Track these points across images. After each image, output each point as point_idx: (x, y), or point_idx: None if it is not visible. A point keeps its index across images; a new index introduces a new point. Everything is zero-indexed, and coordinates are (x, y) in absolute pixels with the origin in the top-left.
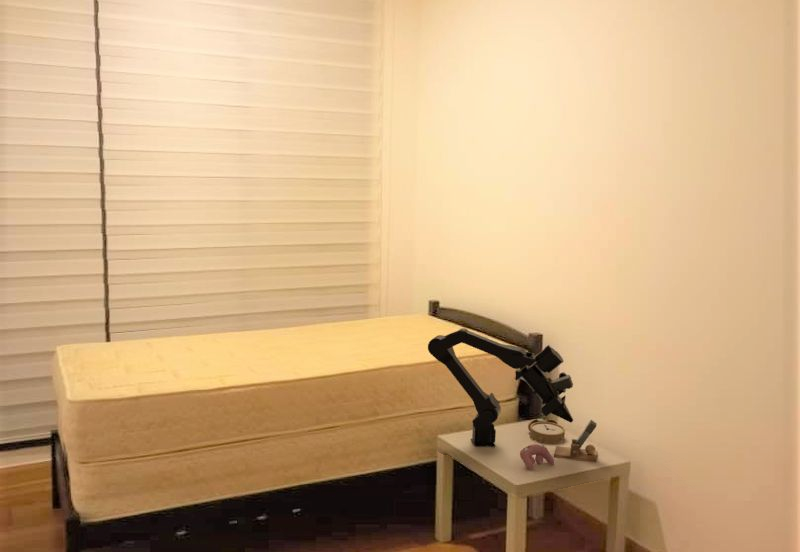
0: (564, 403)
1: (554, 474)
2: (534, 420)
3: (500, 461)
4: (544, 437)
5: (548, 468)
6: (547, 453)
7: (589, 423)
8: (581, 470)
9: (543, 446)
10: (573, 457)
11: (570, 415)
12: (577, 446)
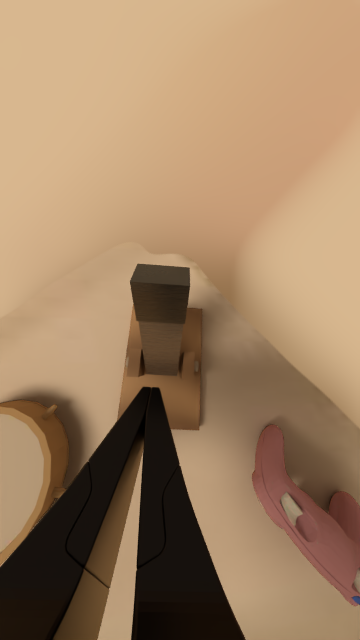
0: (59, 623)
1: (334, 417)
2: None
3: (314, 637)
4: (54, 483)
5: (299, 438)
6: (284, 463)
7: (173, 294)
8: (273, 347)
9: (291, 498)
10: (199, 368)
11: (148, 416)
12: (193, 357)
